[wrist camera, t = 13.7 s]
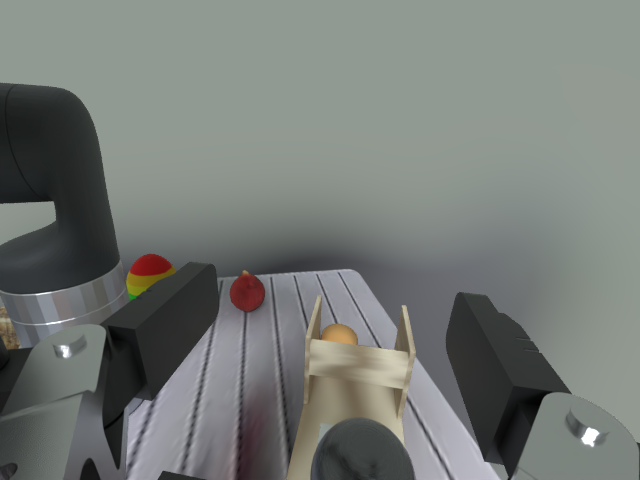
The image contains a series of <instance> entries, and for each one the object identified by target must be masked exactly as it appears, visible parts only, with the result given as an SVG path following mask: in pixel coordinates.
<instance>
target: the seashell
mask: <svg viewBox="0 0 640 480" xmlns="http://www.w3.org/2000/svg"><path fill="white" fill-rule="evenodd" d="M0 335H1V337H2V339H3V342H4V344H5V346H6V348H7V350H9V349H18V348H19V346H20V345H21V344H20V342H19V339H18V337H17V334H16V332H15V330H14V327H13V325H12V323H11V320H10V318H9V316H8V314H7V311H6V309H5V307H4V306H3V307H0Z"/></svg>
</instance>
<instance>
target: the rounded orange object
mask: <svg viewBox="0 0 640 480" xmlns="http://www.w3.org/2000/svg"><path fill="white" fill-rule="evenodd" d="M320 340H324V341H331V342H338V343H345V344H353V345H357V343H358V339H357V335H356V334H355V332H354V331H353V330H352V329H351V328H349V327H348V326H346V325H342V324H332V325H329V326H328V327H326V328H325V329H324V330H323V332H322V335H321V339H320Z"/></svg>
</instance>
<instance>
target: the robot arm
mask: <svg viewBox="0 0 640 480" xmlns="http://www.w3.org/2000/svg"><path fill="white" fill-rule="evenodd" d="M48 201H54V205H55V210H56V221H55V222H53V223H52V224H50V225H48V226H46V227H44V228H42V229H39V230H36V231H34V232H31V233H28V234H25V235H22V236H20V237H17V238H15V239H12V240H10V241H8V242H6V243H4V244H2V245H1V246H0V297H1V299H2V302H3V304H4V307H5V309H6V311H7V314H8V316H9V318H10V320H11V323H12V325H13V327H14V330H15V332H16V334H17V337H18V339H19V342H20V344H21V345H20V346H19V348H18V349H9V350H7V348H6V346H5V344H4V342H3V339H2V337H1V335H0V480H125V473H126V455H127V438H128V420H129V414H130V413H131V412H133V411H134V410H135V409H136V408H137V407H138V405H139V404H140V403H141V402H142V400H143V399H144V400H150V401H152V400H153V399H154V398H155V396H156V395H157V394H158V392H159V391H160V390H161V389H162V387H163V386H164V385H165V383H166V382H167V381H168V380H169V378H170V377H171V376H172V375H173V373H174V372H175V371H176V369H177V368H178V367H179V366H180V364H181V363H182V362H183V360H184V359H185V358H186V357H187V355H188V354H189V353H190V351H191V350H192V349H193V348H194V346H195V345H196V344H197V343H198V341H199V340H200V339H201V337H202V336H203V335H204V334H205V332H206V331H207V330H208V328H209V327H210V326H211V325H212V323H213V322H214V321H215V319H216V317H217V314H218V311H219V295H218V285H217V276H216V269H215V266H214V265H213V264H207V263H198V262H189V263H187V264H186V265H185V266H184V267H182V268H181V269H180V270H179V271H177V272H176V273H175V274H172V275H170V276H168V277H165V278H163V279H161V280H158V281H157V282H155V283H154V284H153V285H151V286H150V287H149V288H147V289H146V291H143V292H142V293H141V294H139V295H138V296H137V297H136V299H133V300H131V301H130V297H129V293H128V289H127V285H126V281H125V277H124V272H123V268H122V264H121V260H120V255H119V251H118V247H117V242H116V236H115V230H114V224H113V219H112V215H111V210H110V206H109V200H108V195H107V189H106V183H105V177H104V171H103V164H102V157H101V152H100V147H99V141H98V137H97V133H96V130H95V127H94V123H93V121H92V119H91V117H90V114H89V112H88V110H87V109H86V107H85V106H84V104H83V103H82V101H81V100H80V99H79V98H78V97H77V96H76V95H74V94H73V93H71V92H70V91H67V90H65V89H62V88H57V87H49V86H36V85H24V84H10V83H0V204H3V203H26V202H48ZM446 350H447V354H448V357H449V360H450V363H451V366H452V369H453V372H454V375H455V377H456V380H457V383H458V386H459V389H460V392H461V395H462V397H463V401H464V404H465V406H466V409H467V412H468V415H469V418H470V421H471V424H472V427H473V430H474V432H475V436H476V438H477V441H478V444H479V447H480V450H481V453H482V456H483V459H484V462H491V463H496V464H501V465H504V466H505V469H506V471H507V474H508V479H507V480H640V443H637V442H636V441H635V439H634V437H633V436H632V435H631V433H630V432H629V431H628V429H627V428H626V427H625V426H624V425H623V424H622V423H621V422H620V421H618V420H617V419H616V418H615V417H614V416H612V415H611V414H610V413H608V412H607V411H605V410H604V409H602V408H601V407H599V406H597V405H596V404H594V403H592V402H590V401H588V400H586V399H583V398H581V397H578V396H575V395H572V393H571V392H570V391H569V389H568V388H567V387H566V386H565V384H564V383H563V381H562V380H561V379H560V377H559V376H558V375H557V373H556V372H555V371H554V369H553V368H552V367H551V365H550V364H549V363H548V361H547V360H546V359H545V358H544V356H543V355H542V353H539V350H538V348H537V347H536V346H535V344H534V343H533V342H532V341H530V338H529V336H528V335H527V334H526V332H525V331H524V330H523V328H522V327H521V326H520V325H519V324H518V323H516V322H515V321H514V320H512V319H511V318H510V317H508V316H507V315H506V314H504V313H498V311H497V310H496V308H495V307H494V305H493V304H492V302H491V301H490V300H489V298H488V297H487V296H486V295H480V294H472V293H462V292H459V293H458V294H457V295H456V298H455V301H454V305H453V309H452V313H451V317H450V321H449V325H448V329H447V334H446ZM158 480H205V479H200V478H195V477H190V476H186V475H181V474H176V473H171V472H167V471H163V472H162V473H161V475H160V477H159V478H158Z"/></svg>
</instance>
